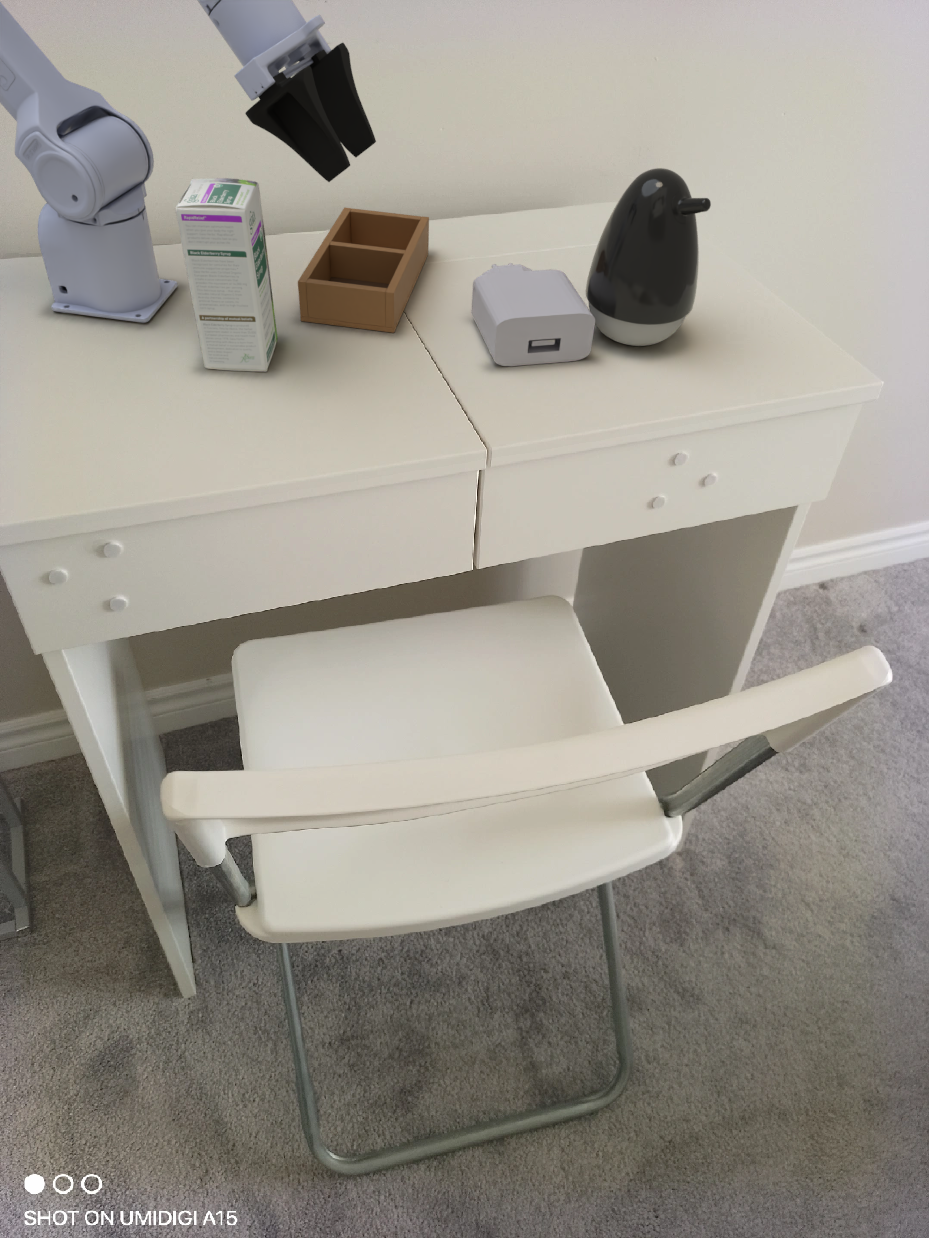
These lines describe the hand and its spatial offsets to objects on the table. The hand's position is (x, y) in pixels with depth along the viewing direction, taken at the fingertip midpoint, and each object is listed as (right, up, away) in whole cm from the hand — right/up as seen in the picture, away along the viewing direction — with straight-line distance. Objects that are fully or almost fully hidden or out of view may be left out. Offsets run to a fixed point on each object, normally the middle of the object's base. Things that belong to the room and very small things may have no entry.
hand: (353, 161), depth 76 cm
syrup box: (-11, -13, +11) cm, 20 cm away
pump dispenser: (+25, -9, +17) cm, 32 cm away
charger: (+14, -8, +17) cm, 24 cm away
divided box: (-1, -2, +21) cm, 21 cm away
